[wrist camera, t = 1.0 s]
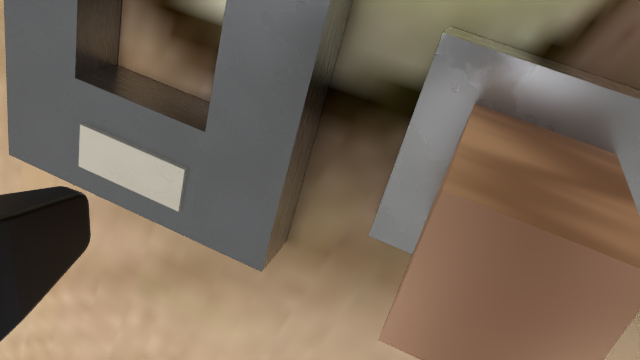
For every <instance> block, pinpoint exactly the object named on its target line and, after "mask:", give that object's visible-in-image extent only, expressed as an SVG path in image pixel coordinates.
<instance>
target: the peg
mask: <svg viewBox="0 0 640 360" xmlns="http://www.w3.org/2000/svg"><path fill="white" fill-rule="evenodd" d="M639 310H640V215H639V213H638V210H637V207H636V205H635V202H634V199H633V197H632V194H631V191H630V189H629V186H628V183H627V181H626V178H625V175H624V173H623V170H622V167H621V165H620V162H619V159H618V157H617V154H614V153H611V152H609V151H606V150H603V149H600V148H598V147H595V146H592V145H589V144H586V143H584V142H581V141H578V140H575V139H573V138H570V137H567V136H564V135H562V134H559V133H556V132H553V131H551V130H548V129H545V128H542V127H539V126H537V125H534V124H531V123H528V122H526V121H523V120H520V119H517V118H515V117H512V116H509V115H506V114H504V113H501V112H498V111H495V110H492V109H490V108H487V107H484V106H481V105H479V104H476V103H475V104H474V107H473V109H472V112H471V114H470V116H469V119H468V121H467V123H466V126H465V128H464V131H463V133H462V135H461V138H460V140H459V142H458V145H457V147H456V150H455V152H454V154H453V157H452V159H451V161H450V164H449V166H448V168H447V171H446V173H445V176H444V178H443V180H442V183H441V185H440V187H439V190H438V192H437V195H436V197H435V199H434V202H433V204H432V206H431V209H430V211H429V214H428V216H427V218H426V221H425V223H424V226H423V228H422V231H421V234H420V236H419V239H418V241H417V244H416V246H415V249H414V251H413V254H412V256H411V259H410V261H409V264H408V266H407V269H406V271H405V274H404V277H403V279H402V282H401V284H400V287H399V289H398V292H397V294H396V297H395V299H394V302H393V304H392V307H391V309H390V312H389V314H388V317H387V320H386V322H385V325H384V327H383V330H382V332H381V335H380V337H379V340H380V341H382V342H384V343H386V344H388V345H391V346H393V347H395V348H397V349H399V350H401V351H403V352H406V353H408V354H410V355H412V356H414V357H416V358H418V359H420V360H603V359H604V358H605V357H606V355H607V354H608V353H609V351H610V350H611V349H612V347H613V346H614V344H615V343H616V342H617V340H618V339H619V338H620V336H621V335H622V333H623V332H624V331H625V329H626V328H627V327H628V325H629V324H630V322H631V321H632V320H633V318H634V317H635V316H636V314H637V313H638V311H639Z"/></svg>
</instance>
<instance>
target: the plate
mask: <svg viewBox="0 0 640 360" xmlns="http://www.w3.org/2000/svg"><path fill="white" fill-rule="evenodd" d="M121 3H122V0H4V17H5V47H6V77H7V106H8V136H9V155H11V156H13V157H15V158H18V159H20V160H22V161H24V162H26V163H28V164H30V165H33V166H35V167H37V168H39V169H41V170H43V171H46V172H48V173H50V174H52V175H54V176H56V177H58V178H61V179H63V180H65V181H67V182H69V183H71V184H74V185H76V186H78V187H80V188H82V189H84V190H86V191H89V192H91V193H93V194H95V195H97V196H99V197H102V198H104V199H106V200H108V201H110V202H112V203H115V204H117V205H119V206H121V207H123V208H125V209H127V210H130V211H132V212H134V213H136V214H138V215H140V216H143V217H145V218H147V219H149V220H151V221H153V222H155V223H158V224H160V225H162V226H164V227H166V228H168V229H171V230H173V231H175V232H177V233H179V234H181V235H183V236H186V237H188V238H190V239H192V240H194V241H196V242H199V243H201V244H203V245H205V246H207V247H209V248H211V249H214V250H216V251H218V252H220V253H222V254H224V255H227V256H229V257H231V258H233V259H235V260H237V261H240V262H242V263H244V264H246V265H248V266H250V267H252V268H255V269H257V270H259V271H261V272H262V270H263V269H264V268H265V267H266V266H267V264H268V263H269V262H270V261H271V259H272V258H273V257H274V256H275V255H276V253H277V252H278V251H279V250H280V249H281V247H282V246H283V245H284V244H285V243H286V240H287V236H288V233H289V229H290V226H291V222H292V218H293V215H294V211H295V207H296V204H297V200H298V196H299V193H300V189H301V186H302V182H303V178H304V175H305V171H306V167H307V164H308V160H309V156H310V153H311V149H312V146H313V142H314V138H315V135H316V131H317V127H318V124H319V120H320V116H321V113H322V109H323V106H324V102H325V98H326V95H327V91H328V87H329V84H330V80H331V76H332V73H333V69H334V66H335V62H336V58H337V55H338V51H339V47H340V44H341V40H342V36H343V33H344V29H345V25H346V22H347V18H348V15H349V11H350V7H351V4H352V0H227V1H226V7H225V14H224V20H223V26H222V32H221V38H220V44H219V50H218V56H217V62H216V69H215V75H214V81H213V87H212V93H211V99H210V103H209V102H206V101H204V100H202V99H199V98H197V97H194V96H192V95H189V94H187V93H184V92H182V91H179V90H177V89H174V88H172V87H169V86H167V85H164V84H162V83H159V82H157V81H154V80H152V79H149V78H147V77H144V76H142V75H139V74H137V73H134V72H132V71H129V70H127V69H124V68H122V67H120V66H117V59H118V45H119V31H120V17H121Z"/></svg>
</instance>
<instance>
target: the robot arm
mask: <svg viewBox="0 0 640 360" xmlns="http://www.w3.org/2000/svg"><path fill="white" fill-rule="evenodd" d="M90 235H91V234H90V218H89V203H88V199H87V197H86V195H84V194H83V193H81V192H79V191H76V190H73V189H70V188H68V187H63V186H58V187H51V188H44V189H37V190H31V191H24V192H17V193H10V194H3V195H0V341H2V340H3V339H4V338H5V337H6V336H7V335H8V334H9V333H10V332H11V331H12V330H13V329H14V328H15V327H16V326H17V325H18V324H19V323H20V322H21V321H22V320H23V319H24V318H25V317H26V316H27V315H28V314H29V313H30V312H31V311H32V310H33V309H34V307H35V306H36V305H37V304H38V303H39V302H40V301H41V300H42V298H43V297H44V296H45V295H46V294H47V293H48V292H49V291H50V289H51V288H52V287H53V286H54V285H55V284H56V283H57V282H58V280H59V279H60V278H61V277H62V276H63V275H64V274H65V273H66V271H67V270H68V269H69V268H70V267H71V266H72V265H73V264H74V263H75V261H76V260H77V259H78V258H79V257H80V256H81V255H82V254H83V252H84V251H85V250H86V248H87V246H88V244H89V242H90Z"/></svg>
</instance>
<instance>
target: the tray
mask: <svg viewBox="0 0 640 360" xmlns="http://www.w3.org/2000/svg"><path fill="white" fill-rule="evenodd" d="M475 103H476V104H479V105H481V106H484V107H487V108H490V109H492V110H495V111H498V112H501V113H504V114H506V115H509V116H512V117H515V118H517V119H520V120H523V121H526V122H528V123H531V124H534V125H537V126H539V127H542V128H545V129H548V130H551V131H553V132H556V133H559V134H562V135H564V136H567V137H570V138H573V139H575V140H578V141H581V142H584V143H586V144H589V145H592V146H595V147H598V148H600V149H603V150H606V151H609V152H611V153H614V154H617V157H618V159H619V162H620V165H621V167H622V170H623V173H624V175H625V178H626V181H627V183H628V186H629V189H630V191H631V194H632V197H633V199H634V202H635V205H636V207H637V210H638V213H639V215H640V90H638V89H635V88H632V87H629V86H626V85H623V84H620V83H617V82H614V81H611V80H608V79H605V78H602V77H599V76H596V75H593V74H590V73H587V72H584V71H581V70H578V69H575V68H573V67H570V66H567V65H564V64H561V63H558V62H555V61H552V60H549V59H546V58H543V57H540V56H537V55H534V54H531V53H528V52H525V51H522V50H519V49H516V48H513V47H510V46H507V45H504V44H501V43H498V42H495V41H492V40H489V39H486V38H483V37H480V36H477V35H474V34H471V33H468V32H465V31H462V30H459V29H456V28H453V27H450V26H449V27H448V28H447V29H446V30H445V31H444V32H443V33H442V36H441V39H440V42H439V44H438V47H437V50H436V53H435V55H434V58H433V61H432V64H431V66H430V69H429V72H428V75H427V77H426V80H425V83H424V85H423V88H422V91H421V94H420V96H419V99H418V102H417V105H416V107H415V110H414V113H413V116H412V118H411V121H410V124H409V127H408V129H407V132H406V135H405V137H404V140H403V143H402V146H401V148H400V151H399V154H398V157H397V159H396V162H395V165H394V168H393V170H392V173H391V176H390V179H389V181H388V184H387V187H386V189H385V192H384V195H383V198H382V200H381V203H380V206H379V209H378V211H377V214H376V217H375V220H374V222H373V225H372V228H371V231H370V233H369V236H370V237H373V238H375V239H377V240H380V241H382V242H384V243H387V244H389V245H391V246H394V247H396V248H398V249H401V250H403V251H405V252H408V253H410V254H413V251H414V249H415V246H416V244H417V241H418V239H419V236H420V234H421V231H422V228H423V226H424V223H425V221H426V218H427V216H428V214H429V211H430V209H431V206H432V204H433V202H434V199H435V197H436V195H437V192H438V190H439V187H440V185H441V183H442V180H443V178H444V176H445V173H446V171H447V168H448V166H449V164H450V161H451V159H452V157H453V154H454V152H455V150H456V147H457V145H458V142H459V140H460V138H461V135H462V133H463V131H464V128H465V126H466V123H467V121H468V119H469V116H470V114H471V112H472V109H473V107H474V104H475Z"/></svg>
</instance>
